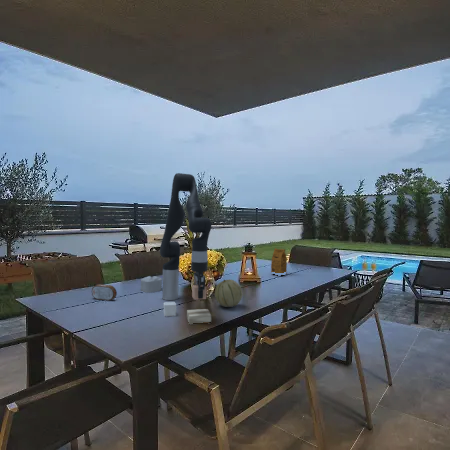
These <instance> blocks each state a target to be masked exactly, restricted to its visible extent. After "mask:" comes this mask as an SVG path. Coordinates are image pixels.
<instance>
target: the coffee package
mask: <svg viewBox="0 0 450 450" xmlns="http://www.w3.org/2000/svg"><path fill="white" fill-rule="evenodd" d="M287 262H288V257H287V254H286V249H284V248H283V249H279V248H276V247H275V248H274V250H273V253H272V257H271V263H270V264H271V265H270V273H271V272H275V273H284V272H286V273H287V272H288V271H287V269H288V268H287V267H288V266H287V264H288V263H287Z"/></svg>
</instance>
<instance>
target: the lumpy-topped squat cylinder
mask: <svg viewBox="0 0 450 450" xmlns="http://www.w3.org/2000/svg"><path fill="white" fill-rule="evenodd" d="M160 291H163V277H159V276H156V275H155V276H151V275H149V276H145V277H143V278H141V279H140V292H143V293H146V294H147V293H149V294H150V293H151V294H152V293H156V292H160Z"/></svg>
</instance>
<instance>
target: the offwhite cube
mask: <svg viewBox="0 0 450 450" xmlns="http://www.w3.org/2000/svg"><path fill="white" fill-rule="evenodd" d="M163 316H164V317H165V316H166V317H177V303H176V302H175V301H166V302H163Z"/></svg>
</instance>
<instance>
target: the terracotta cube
mask: <svg viewBox="0 0 450 450" xmlns="http://www.w3.org/2000/svg"><path fill="white" fill-rule="evenodd" d="M191 287H192V289H191V290H192V291H191V292H192V293H191V296H192V299H193V300H194V301H195V300H196V301H197V300H200V299H199V298H198V286H197V285H194V284H192V286H191ZM200 287H202V285H201V286H200ZM206 299H207V286H206V285H205V289H204V290H203V298H202V299H201V300H206Z"/></svg>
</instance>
